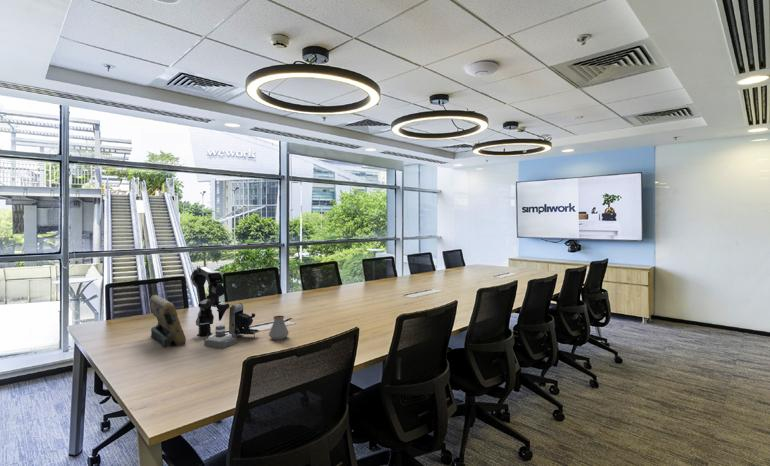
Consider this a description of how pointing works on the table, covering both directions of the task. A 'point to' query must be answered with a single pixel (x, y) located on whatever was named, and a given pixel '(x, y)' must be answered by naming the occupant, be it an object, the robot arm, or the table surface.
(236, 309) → the vintage camera
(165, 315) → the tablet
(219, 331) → the lens
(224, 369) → the table surface
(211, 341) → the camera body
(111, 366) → the table surface
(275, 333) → the coffee pot
